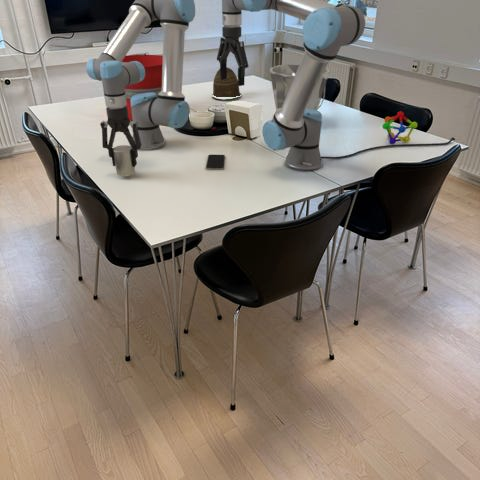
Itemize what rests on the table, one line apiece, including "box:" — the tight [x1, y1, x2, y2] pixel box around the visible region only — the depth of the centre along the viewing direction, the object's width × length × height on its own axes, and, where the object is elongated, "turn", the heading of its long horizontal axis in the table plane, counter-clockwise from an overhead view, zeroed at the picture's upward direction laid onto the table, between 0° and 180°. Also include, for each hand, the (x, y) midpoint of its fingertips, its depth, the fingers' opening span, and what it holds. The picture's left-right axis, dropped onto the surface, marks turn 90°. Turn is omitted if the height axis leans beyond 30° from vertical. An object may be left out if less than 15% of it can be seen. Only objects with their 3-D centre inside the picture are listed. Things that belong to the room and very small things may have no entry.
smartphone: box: [205, 154, 226, 170], centre depth 188 cm, size 7×1×15 cm
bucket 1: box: [122, 52, 163, 122], centre depth 240 cm, size 35×35×30 cm
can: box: [112, 144, 136, 177], centre depth 173 cm, size 7×7×10 cm
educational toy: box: [382, 110, 418, 145], centre depth 207 cm, size 16×13×15 cm
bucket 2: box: [269, 63, 330, 111], centre depth 226 cm, size 30×30×28 cm
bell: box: [212, 58, 242, 97], centre depth 278 cm, size 19×26×20 cm
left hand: (124, 165), depth 174 cm, fingers closed on can, 7 cm apart
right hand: (232, 82), depth 184 cm, fingers open, 13 cm apart
